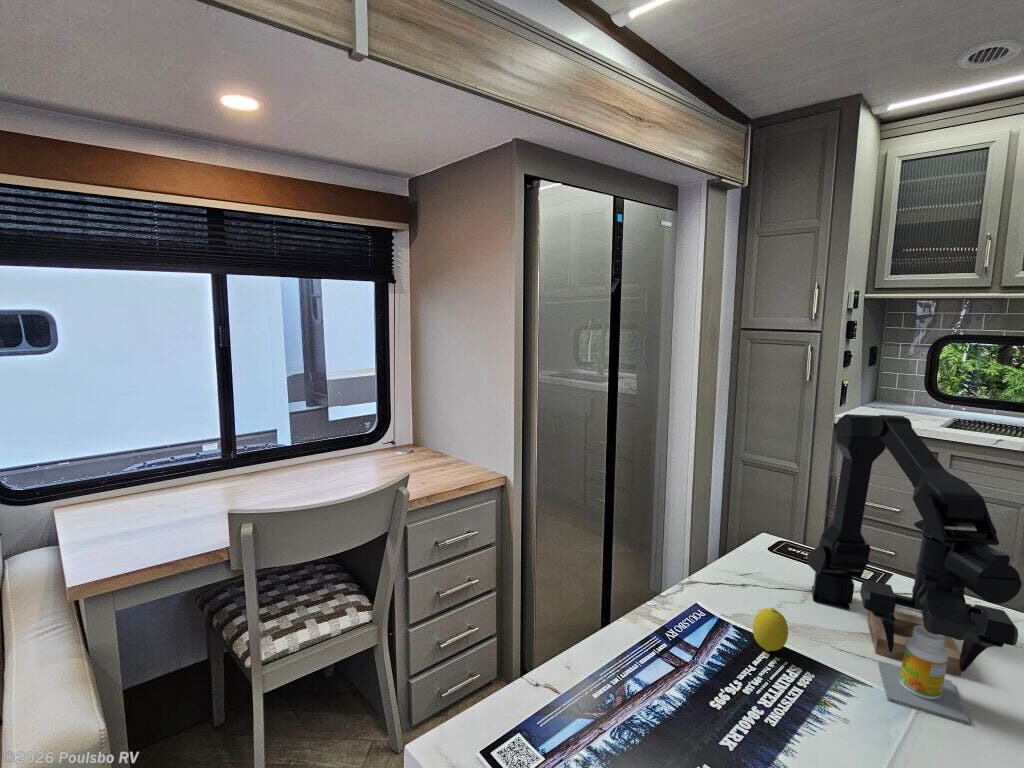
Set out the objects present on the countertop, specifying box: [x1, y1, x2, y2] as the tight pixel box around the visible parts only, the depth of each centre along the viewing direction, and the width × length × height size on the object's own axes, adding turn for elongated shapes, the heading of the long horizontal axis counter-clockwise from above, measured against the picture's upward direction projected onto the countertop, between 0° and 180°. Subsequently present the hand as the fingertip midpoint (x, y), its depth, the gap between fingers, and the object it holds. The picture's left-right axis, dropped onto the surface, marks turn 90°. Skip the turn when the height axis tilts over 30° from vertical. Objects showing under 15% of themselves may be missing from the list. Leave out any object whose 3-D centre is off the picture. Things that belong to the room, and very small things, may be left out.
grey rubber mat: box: [877, 660, 970, 725], centre depth 87 cm, size 10×10×1 cm
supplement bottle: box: [900, 625, 948, 699], centre depth 86 cm, size 5×5×10 cm
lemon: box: [752, 607, 789, 653], centre depth 95 cm, size 6×6×8 cm
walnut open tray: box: [866, 610, 963, 677], centre depth 98 cm, size 12×12×3 cm
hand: (925, 660), depth 86 cm, fingers open, 9 cm apart
